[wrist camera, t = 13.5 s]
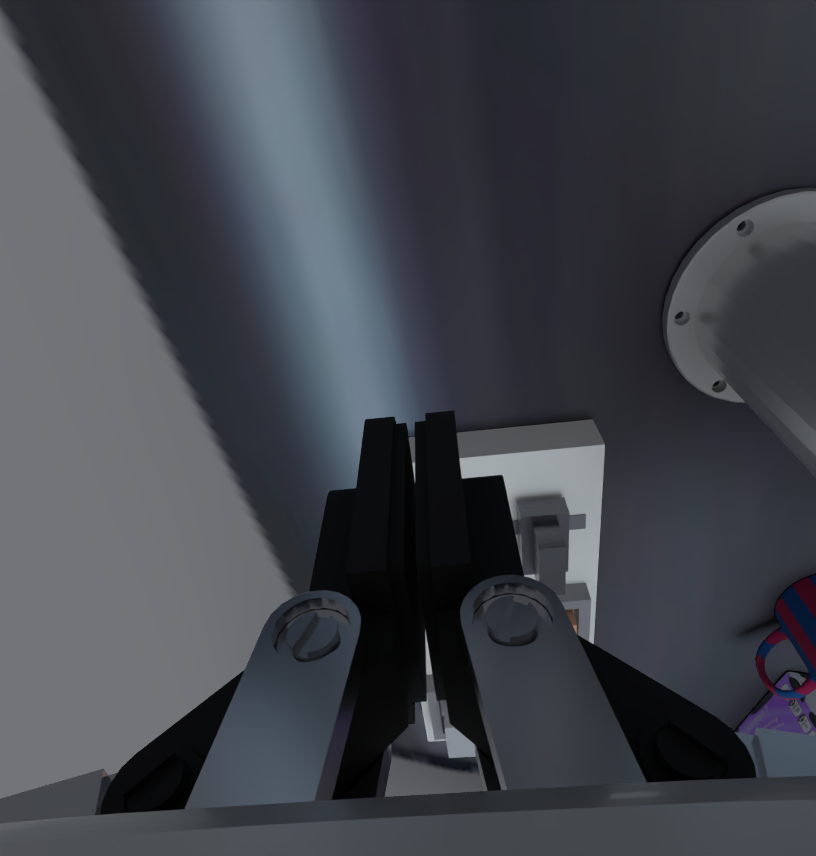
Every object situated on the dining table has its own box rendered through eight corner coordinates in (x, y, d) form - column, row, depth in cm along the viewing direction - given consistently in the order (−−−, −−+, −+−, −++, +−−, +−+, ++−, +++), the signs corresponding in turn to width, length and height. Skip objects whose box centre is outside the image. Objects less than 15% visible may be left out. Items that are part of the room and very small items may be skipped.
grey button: (493, 696, 48) (497, 724, 46) (496, 726, 51) (499, 754, 49) (443, 699, 49) (444, 728, 47) (447, 729, 51) (449, 758, 49)
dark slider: (564, 497, 39) (578, 539, 36) (563, 554, 42) (576, 599, 39) (517, 501, 40) (526, 544, 36) (519, 558, 42) (528, 603, 39)
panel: (592, 419, 40) (612, 459, 36) (580, 700, 56) (593, 749, 52) (381, 440, 41) (378, 481, 37) (427, 710, 57) (428, 759, 53)
